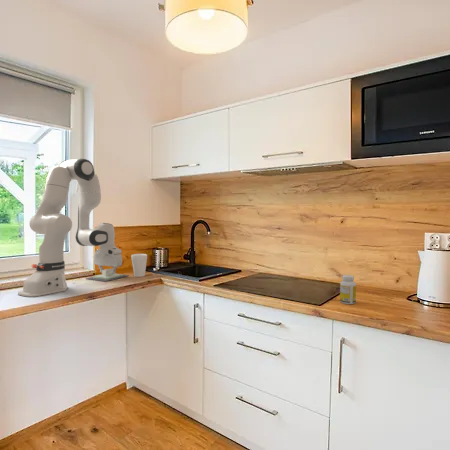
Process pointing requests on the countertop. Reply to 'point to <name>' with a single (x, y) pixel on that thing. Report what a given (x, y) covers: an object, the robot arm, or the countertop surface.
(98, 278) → the mat
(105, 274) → the lid
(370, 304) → the countertop surface
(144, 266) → the foam cup
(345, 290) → the pill bottle
